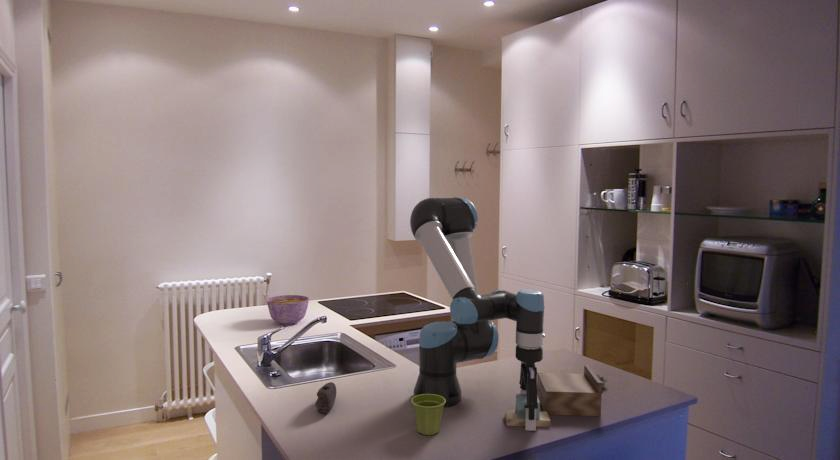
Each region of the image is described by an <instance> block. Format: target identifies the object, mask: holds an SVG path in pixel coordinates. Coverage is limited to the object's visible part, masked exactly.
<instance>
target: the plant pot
mask: <svg viewBox="0 0 840 460" xmlns="http://www.w3.org/2000/svg"><path fill="white" fill-rule="evenodd" d="M410 402H411V404H412V407H413V409H414V410H413V411H414V417H415V425H416V431H417V432H418V434H422V435H423V436H433V435H436V434H437V433H440V428H441V421H442V415H443V410H444V408H445V407H444V404H445V403H446V400H445V398H444V397H442V396H439V395H435V394H420V395H417V396H414V395H413V397H411V399H410Z"/></svg>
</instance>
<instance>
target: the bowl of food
mask: <svg viewBox="0 0 840 460" xmlns="http://www.w3.org/2000/svg"><path fill="white" fill-rule="evenodd" d="M309 302H310V298H309V297H308V296H306V295H298V294H286V295H285V294H283V295H276V296H272V297H269V298H267V299H266V303H267V304H266V305H267V308H268V312H269V316H270V318H271V320H273V321H274V322H276V323H279V325H281V326H292V325H295V323H296V324H298V322H301V320H303V319H304V318H305V317H306V315H307V311H308V308H309V307H308V306H309ZM291 324H292V325H291Z"/></svg>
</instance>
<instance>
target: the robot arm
mask: <svg viewBox="0 0 840 460" xmlns="http://www.w3.org/2000/svg"><path fill="white" fill-rule="evenodd" d="M478 221H479V216H478V211H477V208H476V206H475V205H474V203H473V202H472V201H470V200H469V199H468V198H464V197H457V196H454V197H429V198H424V199H422V200H420V201H419V202H418V203H417V204H416V205H415V206H414V207H413V209H412V212H411V214H410V219H409V224H410V225H409V226H410V230H411V233H412V236H413V238H415V241H416V242H417V243H419V244H421V246H422V247H423V249H424V251H425V252H426V254H427V256H428V259H429V260H430V262H431V264H432V265H433V267H434V269H435V270H436V272H437V274H438V276H439V278H440V280H441V282H442V284H443V285H444V287H445V290H446V291H447V293H448V294H449V296H450V298H451V300H452V301H451V303H450V306H449V311H450V317H451V318H452V321H448V320H447V321H444V320H443V321H435V322H431V323H428V324H426V325H424V326H422V328H421V330H420V332H419V338H418V339H419V340H418V345H419V351H418V352H419V353H418V354H419V360H418V361H419V362H418V364H419V369H418V370H419V371H418V372H419V373H418V376H417V380H416V382H415V385H414V389H413V397H414V396H417V395H420V394H435V395H439V396H442V397H444V398H445V400H446V403H445V404H444V407H443V408H447V407H451V406H455V405H457V404H459V403H460V402H461V401H462V395H463V394H462V389H461V386H460V382H459V379H458V376H457V364H459V363H462V362H463V363H464V362H469V361H474V360H482V359H485V358H488V357H491V356H492V355H493V354H495V352H496V351H497V349H498V346H499V342H500V341H499V331H498V328H497V326H496V325H495V323H494V322H493V321H496V320H502V319H503V320H504V319H508V320H511V321H514V322H516V324H515V326H516V327H515V344H516V345H515V358H516V359H517V361H520V372H519V374H520V375H519V382H518V384H519V388H520V390H519V391H520V392H519V394H526V399H527V405H525V406H524V408H526V422H525V426H524V427H525V428H524V429H525V431H534V432H536V431H537V430H536V427H537V426H536V409H537V408H538V404H537V396H538V395H537V373H538V368H537V366H536V363H539V362H542V360H543V358H544V357H543V356H544V351H543V350H544V349H543V345H544V338H546V335H545V333H544V320H545V319H544V316H545V298H544V297H545V296H544V294H543V292H541V291H539V290H536V289H535V290H533V289H522V290H519V291H517V293H513V292H510V291H507V290H502V289H501V290H500V289H496V290H493V291H491V292H490V293H487V294H480V292H479V286H478V280H477V275H476V268H475V261H474V257H473V251H472V245H471V239H472V237H473V236H474V230H475V229H476V227H477V225H478V223H477V222H478ZM531 403H534V404H531Z"/></svg>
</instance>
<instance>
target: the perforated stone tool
mask: <svg viewBox="0 0 840 460" xmlns="http://www.w3.org/2000/svg"><path fill="white" fill-rule="evenodd" d="M316 397H317V400H316V401H315V403H314V405H315V407H316V409H317V411H318V413H321V414H328V413H330V411H332V409H333V407H334V405H335V401H336V397H337V387H336V384H335V383H334V382H331V381H330V382H326V383H325V384H324V385H322V386H321V387H320V388H319V389H318V391H317V392H316Z"/></svg>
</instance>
